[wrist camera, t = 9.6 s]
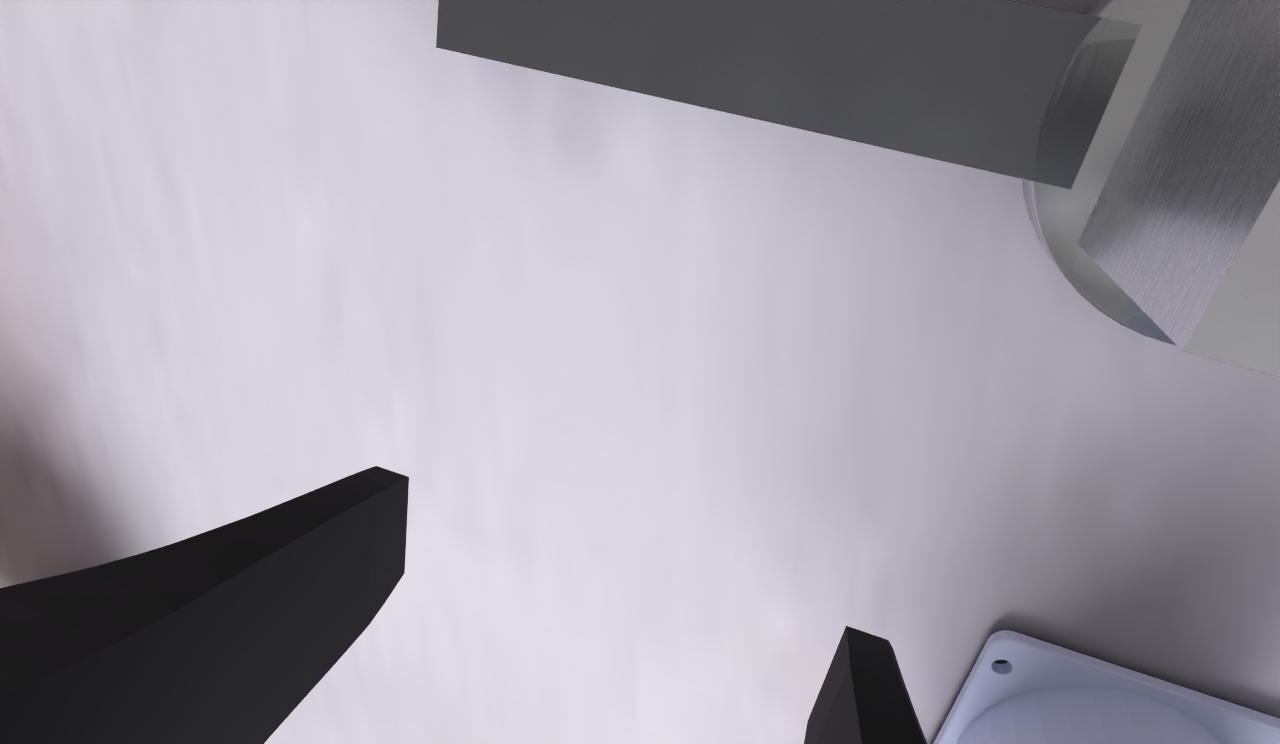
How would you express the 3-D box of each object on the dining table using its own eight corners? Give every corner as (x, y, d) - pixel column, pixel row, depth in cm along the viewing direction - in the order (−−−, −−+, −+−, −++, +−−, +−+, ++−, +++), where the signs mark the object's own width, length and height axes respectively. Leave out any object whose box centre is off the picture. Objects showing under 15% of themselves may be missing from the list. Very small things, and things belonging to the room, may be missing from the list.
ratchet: (1348, 370, 16) (1526, 494, 12) (460, 148, 20) (340, 178, 15) (1633, -55, 12) (2042, -107, 8) (486, -226, 16) (340, -326, 12)
